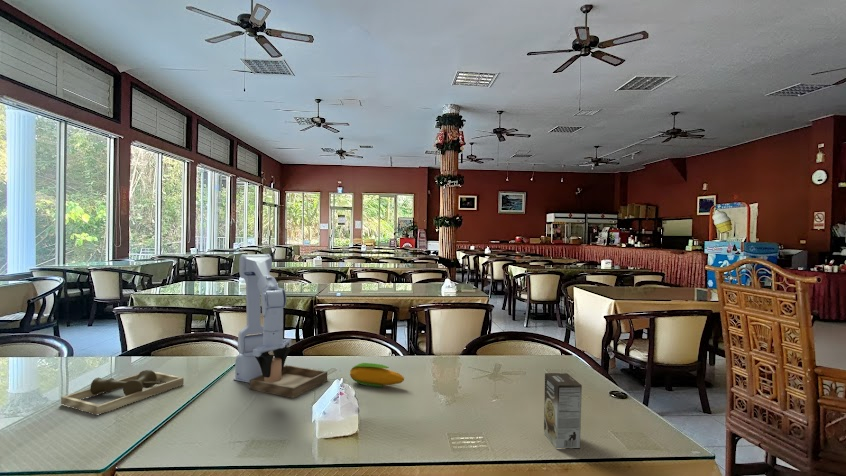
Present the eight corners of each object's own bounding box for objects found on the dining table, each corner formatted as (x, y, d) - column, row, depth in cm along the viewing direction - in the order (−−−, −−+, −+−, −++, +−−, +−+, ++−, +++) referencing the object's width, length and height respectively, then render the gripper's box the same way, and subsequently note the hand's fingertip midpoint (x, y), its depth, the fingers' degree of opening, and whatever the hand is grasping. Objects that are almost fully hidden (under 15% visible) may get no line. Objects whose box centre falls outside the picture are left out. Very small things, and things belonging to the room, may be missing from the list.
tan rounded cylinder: (260, 380, 133) (260, 361, 133) (272, 375, 137) (272, 356, 137) (273, 383, 131) (273, 363, 131) (284, 378, 135) (285, 358, 135)
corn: (355, 357, 157) (408, 363, 151) (356, 377, 158) (408, 384, 152) (345, 364, 150) (400, 371, 144) (346, 386, 151) (401, 393, 145)
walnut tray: (249, 389, 146) (249, 379, 146) (286, 373, 162) (286, 364, 162) (293, 397, 139) (293, 388, 139) (327, 380, 155) (327, 371, 155)
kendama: (104, 389, 143) (168, 386, 145) (84, 401, 134) (154, 398, 136) (103, 371, 143) (168, 368, 145) (83, 382, 133) (153, 379, 135)
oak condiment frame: (61, 405, 130) (61, 396, 130) (149, 377, 155) (149, 370, 155) (97, 415, 124) (97, 406, 124) (183, 384, 148) (183, 377, 148)
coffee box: (542, 433, 117) (543, 372, 117) (566, 432, 118) (567, 372, 118) (555, 450, 108) (557, 384, 108) (581, 449, 109) (582, 384, 108)
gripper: (266, 336, 126) (265, 383, 126) (299, 326, 139) (298, 369, 139) (247, 333, 128) (247, 379, 129) (281, 323, 142) (281, 366, 142)
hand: (272, 374), depth 134 cm, fingers closed on tan rounded cylinder, 5 cm apart
